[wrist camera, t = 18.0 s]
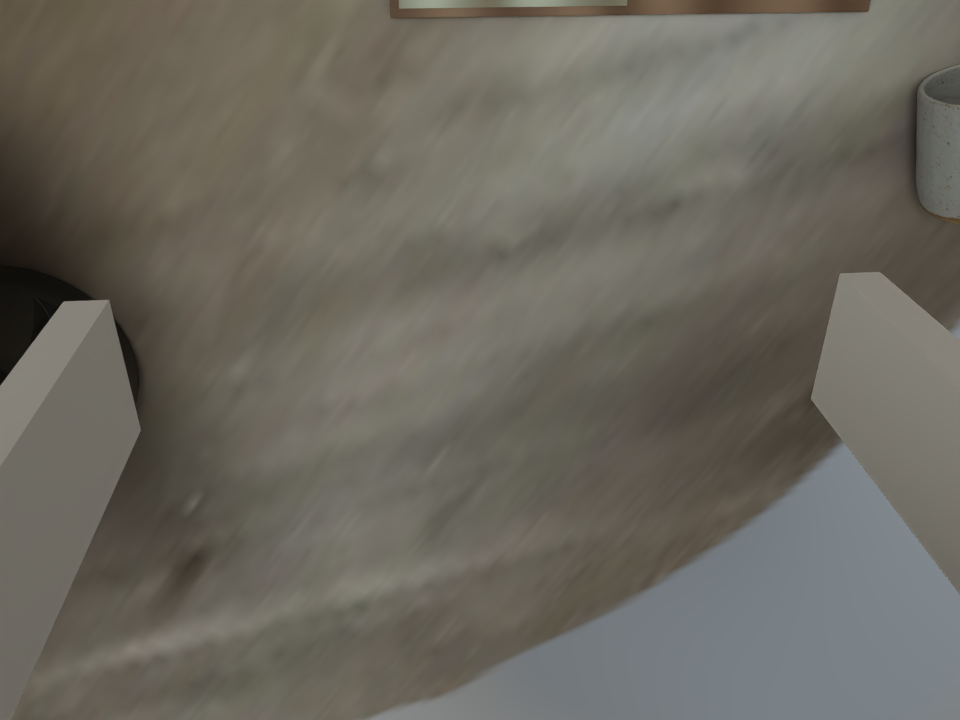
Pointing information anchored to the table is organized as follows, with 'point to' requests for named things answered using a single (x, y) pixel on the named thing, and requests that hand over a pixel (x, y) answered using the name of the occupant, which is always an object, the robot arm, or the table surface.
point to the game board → (611, 7)
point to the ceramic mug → (939, 144)
